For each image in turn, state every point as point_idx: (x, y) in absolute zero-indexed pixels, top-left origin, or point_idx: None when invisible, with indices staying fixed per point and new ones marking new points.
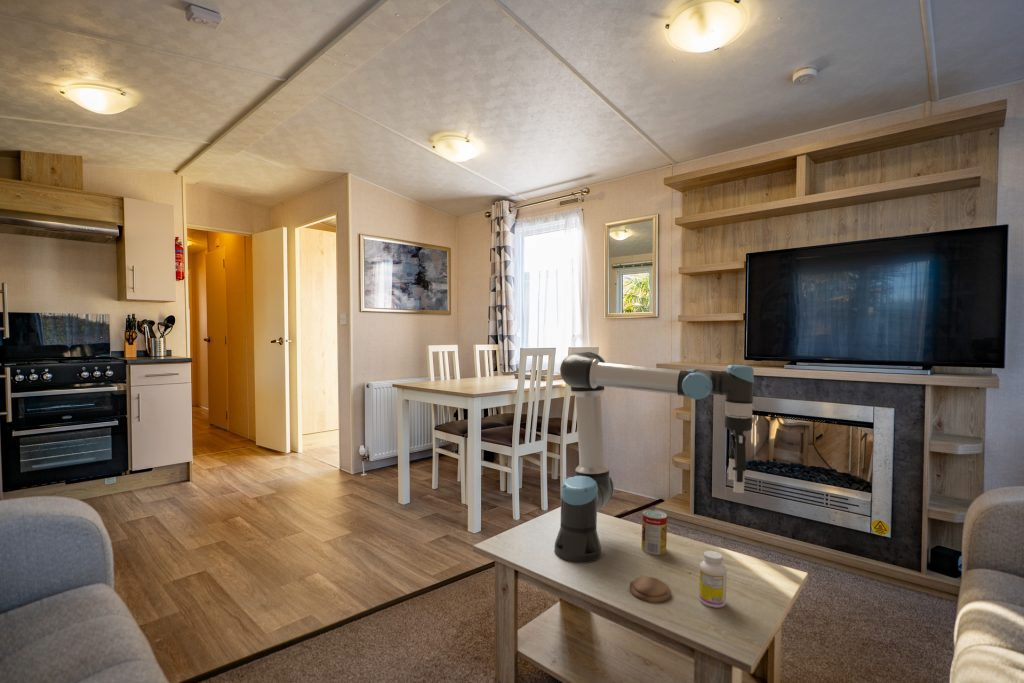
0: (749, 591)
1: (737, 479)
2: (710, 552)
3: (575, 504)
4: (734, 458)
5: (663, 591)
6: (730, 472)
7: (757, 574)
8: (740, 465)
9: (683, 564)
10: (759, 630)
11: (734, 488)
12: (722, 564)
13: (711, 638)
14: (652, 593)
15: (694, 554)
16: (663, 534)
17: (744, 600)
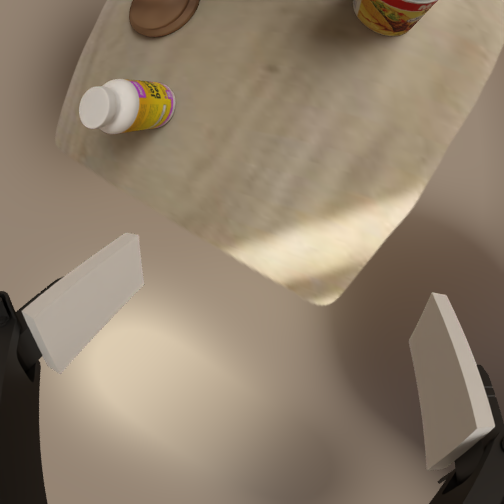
0: (218, 182)
1: (51, 283)
2: (100, 100)
3: None
4: (463, 458)
5: (139, 24)
6: (442, 337)
7: (304, 224)
8: (25, 376)
9: (316, 60)
10: (105, 169)
11: (111, 244)
12: (109, 126)
13: (74, 105)
14: (131, 11)
15: (387, 102)
16: (369, 5)
17: (179, 164)
